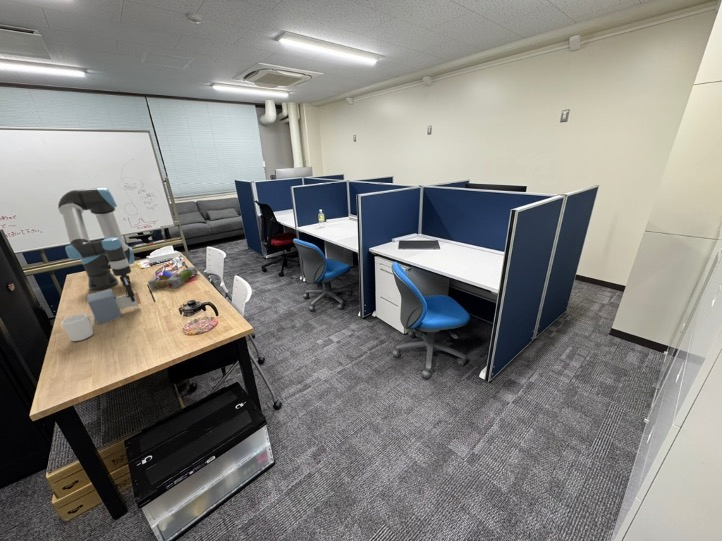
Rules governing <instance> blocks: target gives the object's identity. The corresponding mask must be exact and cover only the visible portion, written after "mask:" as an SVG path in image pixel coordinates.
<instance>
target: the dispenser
mask: <svg viewBox="0 0 722 541" xmlns="http://www.w3.org/2000/svg"><path fill="white" fill-rule="evenodd" d="M115 299H116V294H115V292H114V291H113V289H112V288H107V289H103V290H101V291H96V292H93V293H88V294H87V303H88V306H89V307H90V310H91V312H92V315H93V318H94V319H95V322H96V324H97V325H101V324H104V323H107V322H111V321H114V320H117V319H121V318H122V313H121V309H120V310H119V308H118V305H117V303H116V300H115Z"/></svg>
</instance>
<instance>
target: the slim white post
mask: <svg viewBox="0 0 722 541" xmlns="http://www.w3.org/2000/svg"><path fill="white" fill-rule="evenodd" d="M133 292H134V295H135V298H136V301H137V303H138V305H141V304H142V301H141V299H140V295H139V293H138V291H133ZM127 296H128V294H123V295H120V296H117V297H116V299H115V300H116V303H117V305H118V308H119V310H120V311H121V310H122V309H127V308H129V307H132V305H131V302H130V299H129V297H128V298H127Z"/></svg>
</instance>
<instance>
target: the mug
mask: <svg viewBox="0 0 722 541" xmlns="http://www.w3.org/2000/svg"><path fill="white" fill-rule="evenodd" d="M88 317H90V321H89V319H88ZM60 324H61V325H62V326H63V328H64V329H65V331H66V333H67V335H68V337H69V338H70V340H71V342H74V343H79V342H82V341H85V340H88V339H90V338H92V337H93V336H94V331H93V328H94V315H93V314H91V313H90V314H86V313H79V314H74V315H71V316H68V317H66V318H65V319H63V320H61V321H60Z"/></svg>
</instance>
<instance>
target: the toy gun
mask: <svg viewBox="0 0 722 541" xmlns="http://www.w3.org/2000/svg"><path fill="white" fill-rule="evenodd" d="M199 272H200V270H199V269H197V267H196V266H188V267H187V268H185V269H184V270H182V271H180V272H179V273H177V274H174V275H173V276H171V277H169V276H168V275H166V274H158V275H156V276H157V277H156V276H155V277H154V278H152V279H150V280H148V281H147V283H148V286H149V288H150V289H149V290H151V291H154V290H157V289H158V288H159V289H160V288H166V287H168V289H177V288H178V287H180V286H182V285H183V284H184V283H186V282H187V281H188V280H190V279H189V277H191V276H192V275H195V274H197V273H199ZM197 275H198V274H197ZM195 276H196V275H195ZM191 278H192V277H191ZM187 279H188V280H187Z"/></svg>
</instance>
